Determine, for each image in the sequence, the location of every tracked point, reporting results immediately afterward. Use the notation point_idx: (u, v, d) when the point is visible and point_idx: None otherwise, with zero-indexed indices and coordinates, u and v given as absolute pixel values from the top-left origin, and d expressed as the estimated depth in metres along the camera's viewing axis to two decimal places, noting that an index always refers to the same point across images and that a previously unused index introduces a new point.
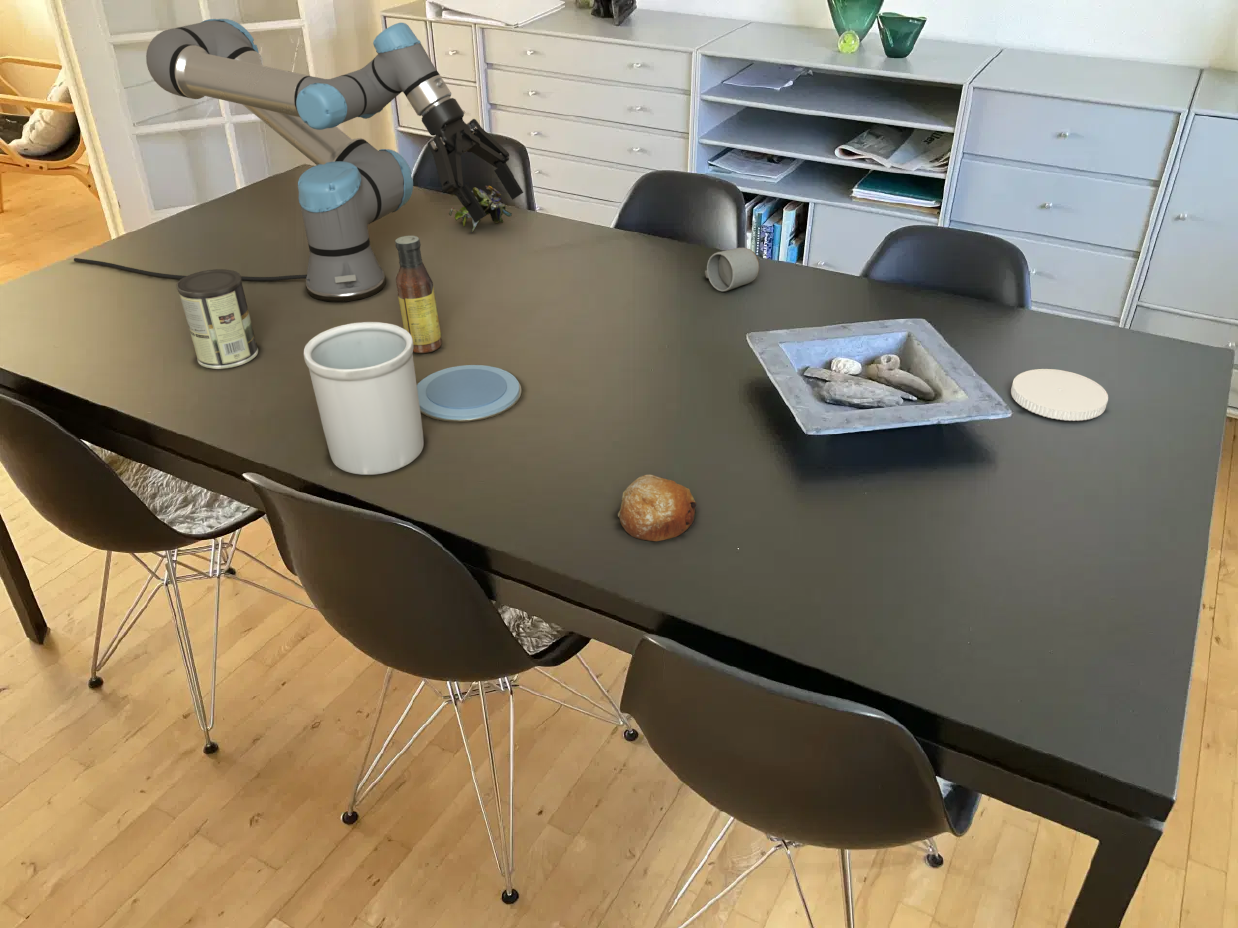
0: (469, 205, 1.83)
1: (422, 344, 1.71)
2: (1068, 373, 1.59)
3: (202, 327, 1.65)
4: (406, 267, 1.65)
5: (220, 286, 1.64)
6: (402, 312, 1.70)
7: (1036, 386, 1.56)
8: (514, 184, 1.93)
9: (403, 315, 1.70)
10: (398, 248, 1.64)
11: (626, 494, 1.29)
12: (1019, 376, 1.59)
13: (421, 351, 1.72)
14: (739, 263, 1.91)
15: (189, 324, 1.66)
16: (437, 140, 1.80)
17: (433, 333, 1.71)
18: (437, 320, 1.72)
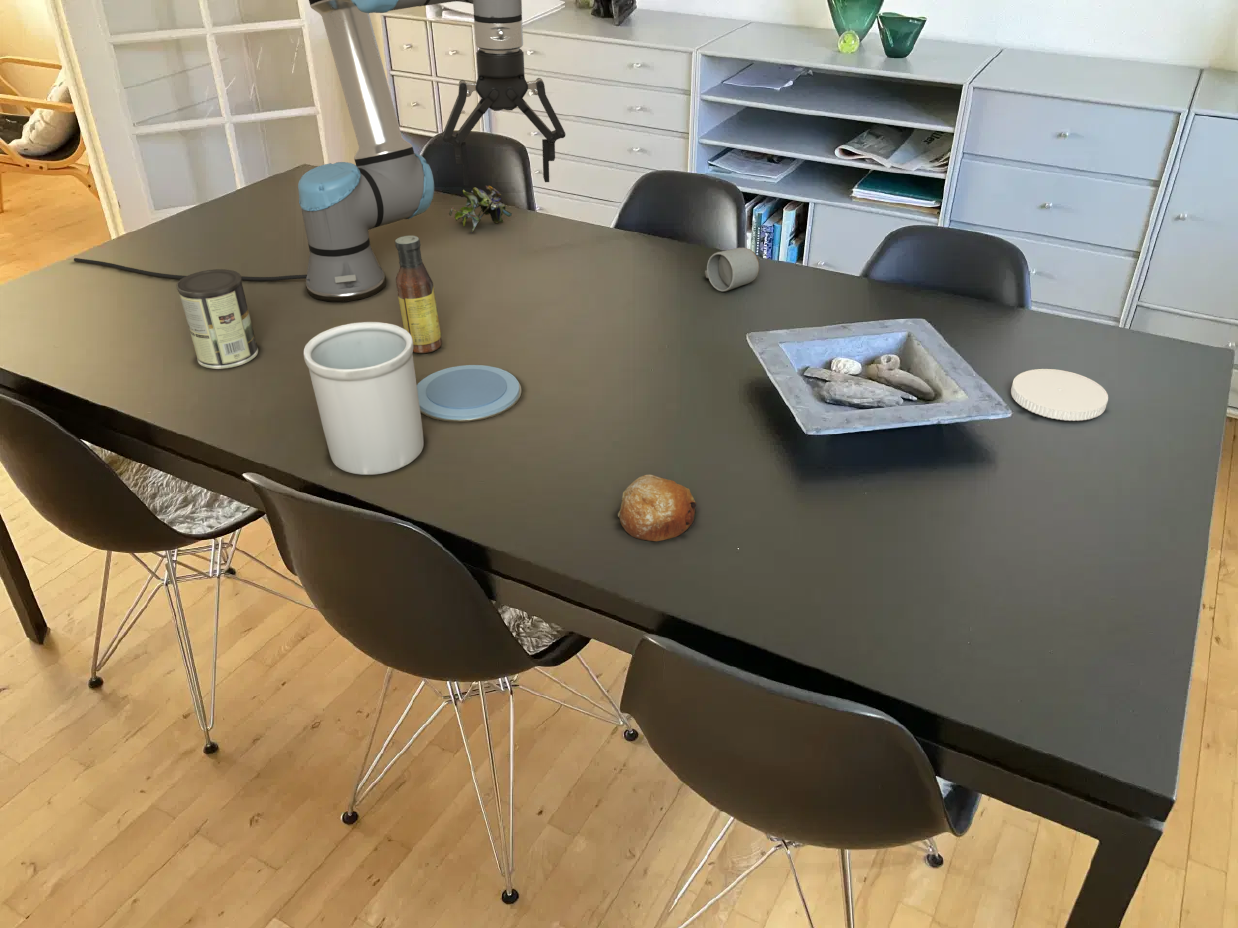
0: None
1: (422, 344, 1.71)
2: (1068, 373, 1.59)
3: (202, 327, 1.65)
4: (406, 267, 1.65)
5: (220, 286, 1.64)
6: (402, 312, 1.70)
7: (1036, 385, 1.56)
8: (544, 169, 1.67)
9: (403, 315, 1.70)
10: (398, 248, 1.64)
11: (626, 494, 1.29)
12: (1019, 376, 1.59)
13: (421, 351, 1.72)
14: (739, 263, 1.91)
15: (189, 324, 1.66)
16: (461, 88, 1.58)
17: (433, 333, 1.71)
18: (437, 320, 1.72)
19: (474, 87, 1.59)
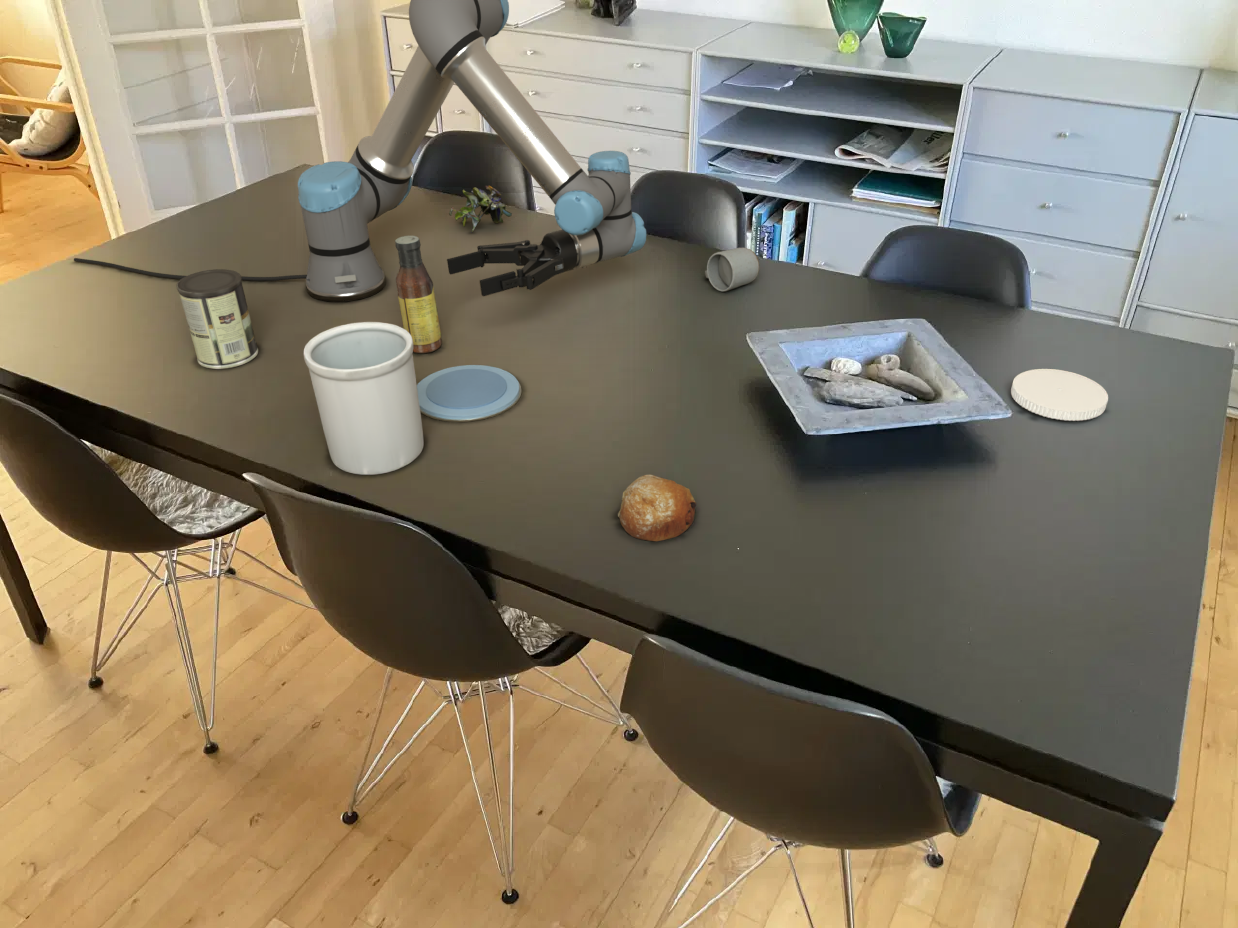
0: (498, 283, 1.70)
1: (422, 344, 1.71)
2: (1068, 373, 1.59)
3: (202, 327, 1.65)
4: (406, 267, 1.65)
5: (220, 286, 1.64)
6: (402, 312, 1.70)
7: (1036, 385, 1.56)
8: (461, 270, 1.80)
9: (403, 315, 1.70)
10: (398, 248, 1.64)
11: (626, 494, 1.29)
12: (1019, 376, 1.59)
13: (421, 351, 1.72)
14: (739, 263, 1.91)
15: (189, 324, 1.66)
16: (560, 272, 1.76)
17: (433, 333, 1.71)
18: (437, 320, 1.72)
19: None
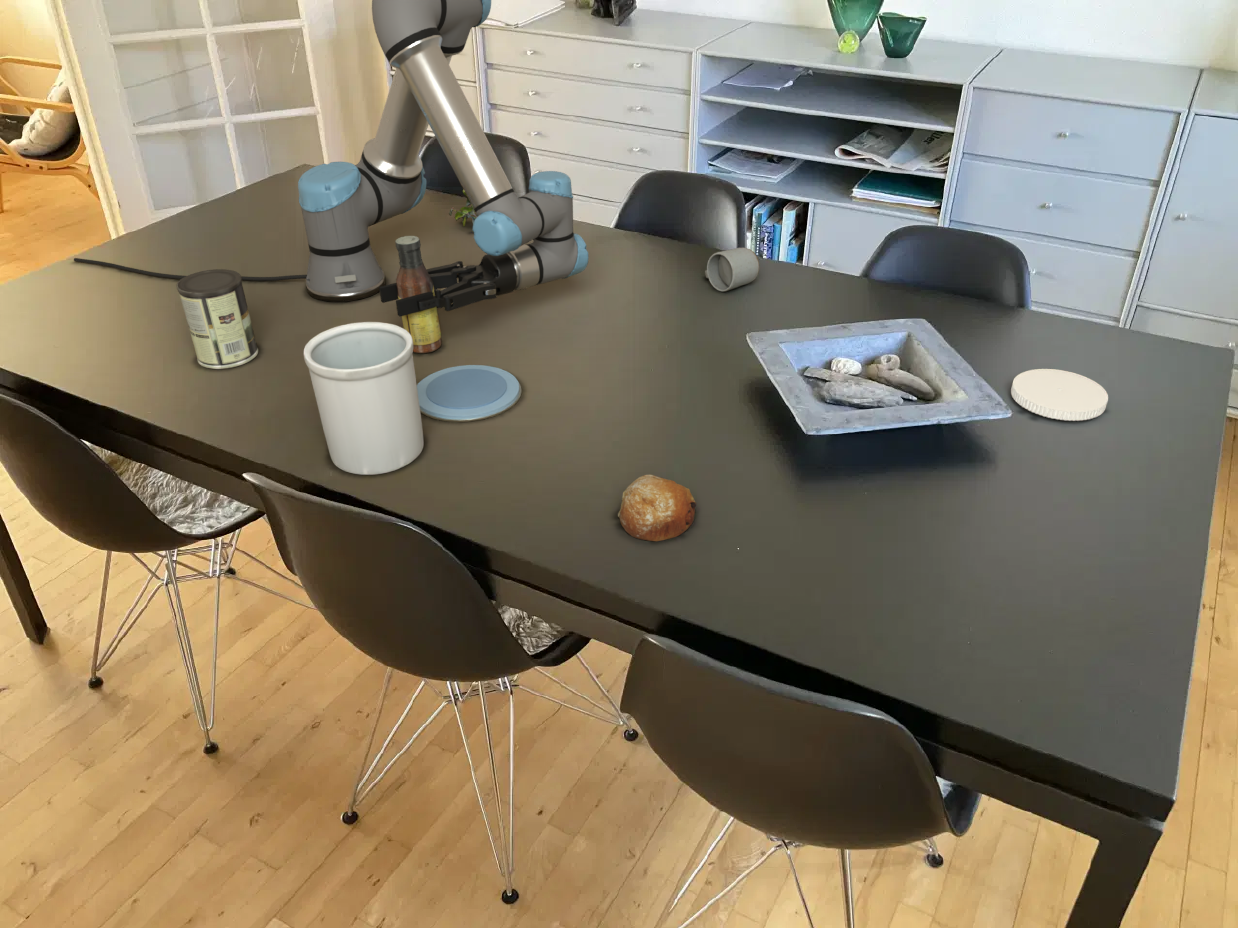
0: (415, 304, 1.66)
1: (422, 344, 1.71)
2: (1068, 373, 1.59)
3: (202, 327, 1.65)
4: (406, 267, 1.65)
5: (220, 286, 1.64)
6: None
7: (1036, 385, 1.56)
8: (394, 299, 1.71)
9: None
10: (398, 248, 1.64)
11: (626, 494, 1.29)
12: (1019, 376, 1.59)
13: (421, 351, 1.72)
14: (739, 263, 1.91)
15: (189, 324, 1.66)
16: (492, 298, 1.71)
17: (433, 333, 1.71)
18: (437, 320, 1.72)
19: None
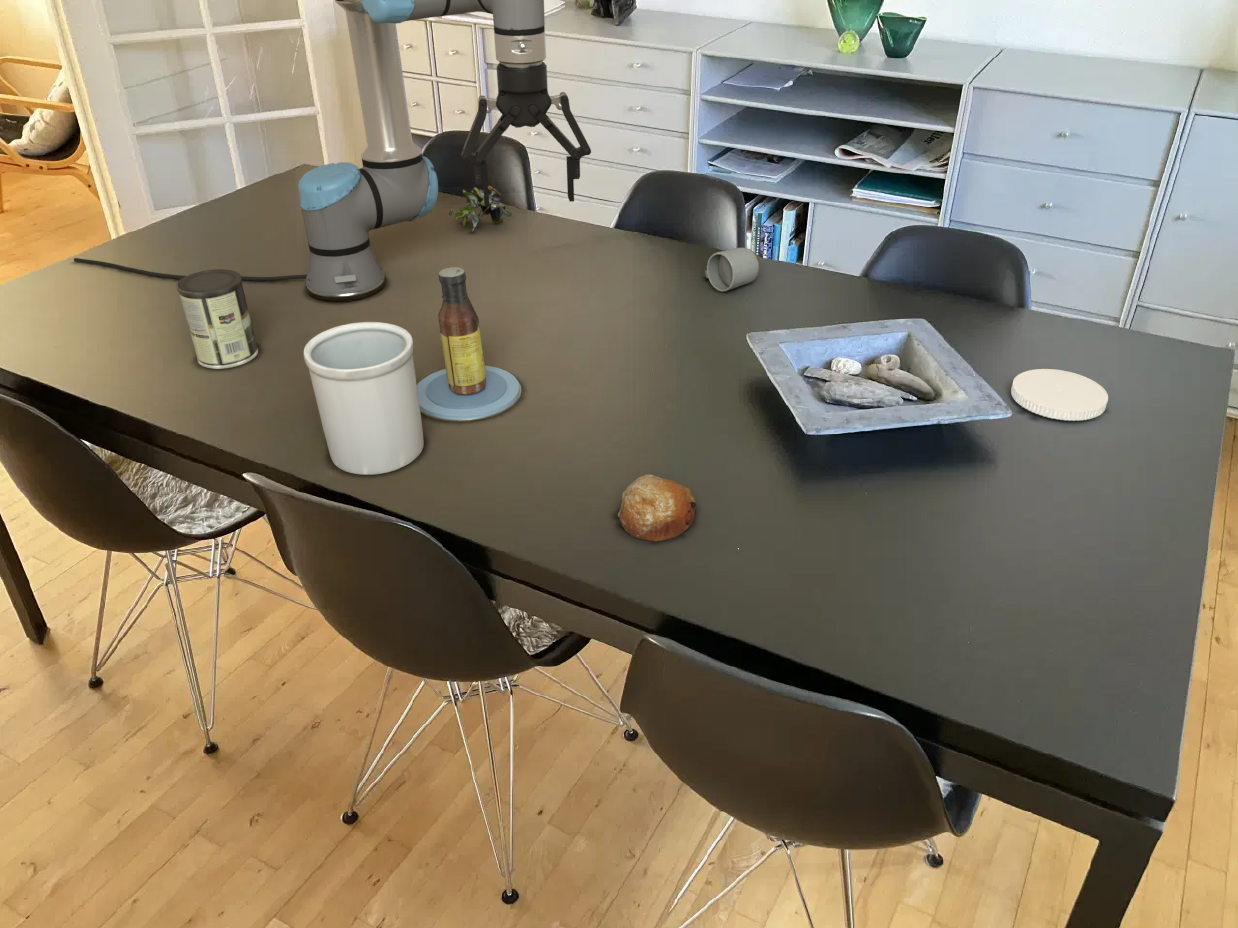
0: None
1: (466, 385, 1.56)
2: (1068, 373, 1.59)
3: (202, 327, 1.65)
4: (450, 302, 1.50)
5: (220, 286, 1.64)
6: (445, 350, 1.54)
7: (1036, 385, 1.56)
8: (569, 188, 1.58)
9: (446, 354, 1.54)
10: (442, 281, 1.49)
11: (626, 494, 1.29)
12: (1019, 376, 1.59)
13: (465, 393, 1.57)
14: (739, 263, 1.91)
15: (189, 324, 1.66)
16: (480, 104, 1.49)
17: (478, 373, 1.56)
18: (482, 359, 1.57)
19: (494, 103, 1.50)
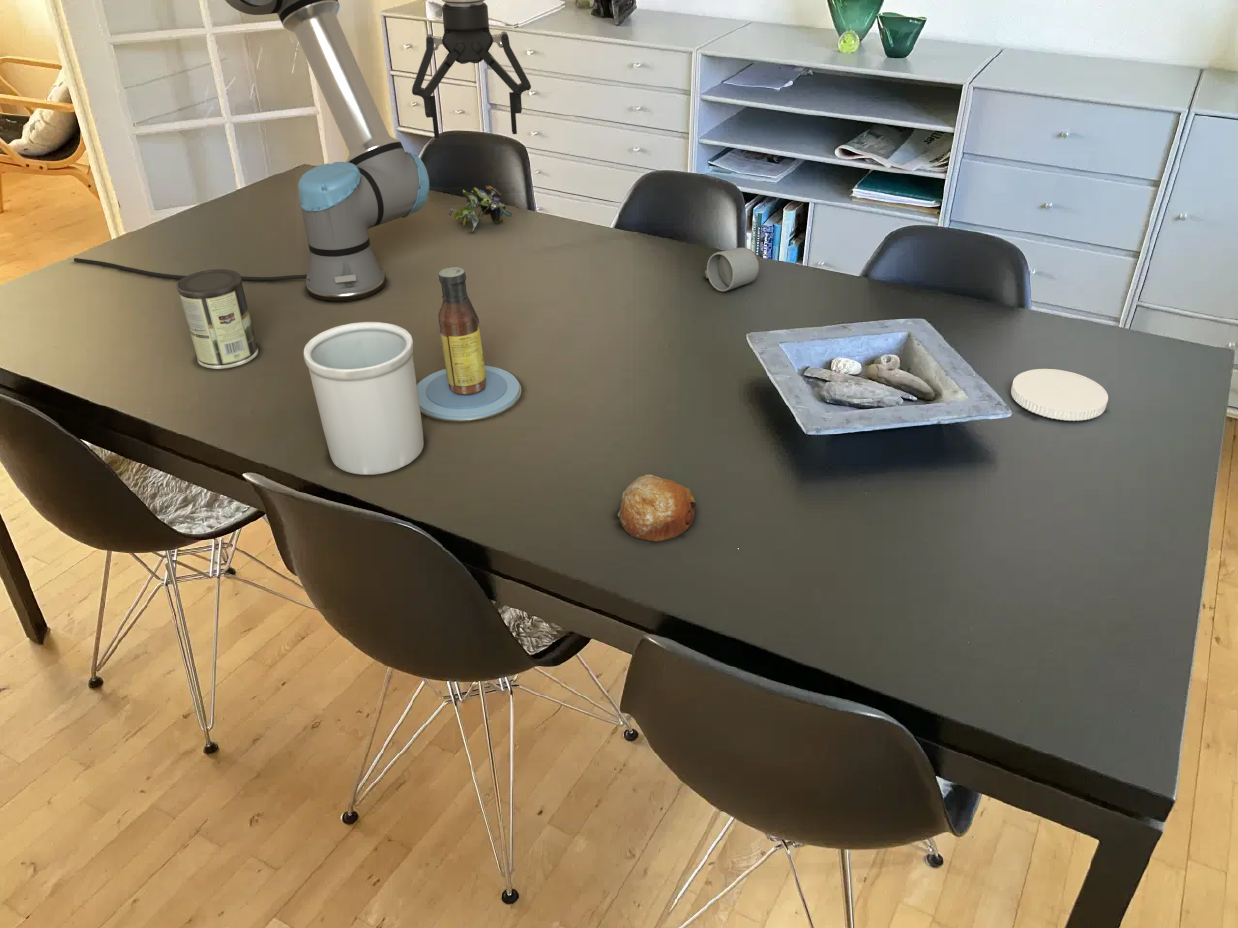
0: None
1: (466, 385, 1.56)
2: (1068, 373, 1.59)
3: (202, 327, 1.65)
4: (450, 302, 1.50)
5: (220, 286, 1.64)
6: (445, 350, 1.54)
7: (1036, 385, 1.56)
8: (511, 121, 1.73)
9: (446, 354, 1.54)
10: (442, 281, 1.49)
11: (626, 494, 1.29)
12: (1019, 376, 1.59)
13: (465, 393, 1.57)
14: (739, 263, 1.91)
15: (189, 324, 1.66)
16: (427, 42, 1.64)
17: (478, 373, 1.56)
18: (482, 359, 1.57)
19: (441, 41, 1.65)
